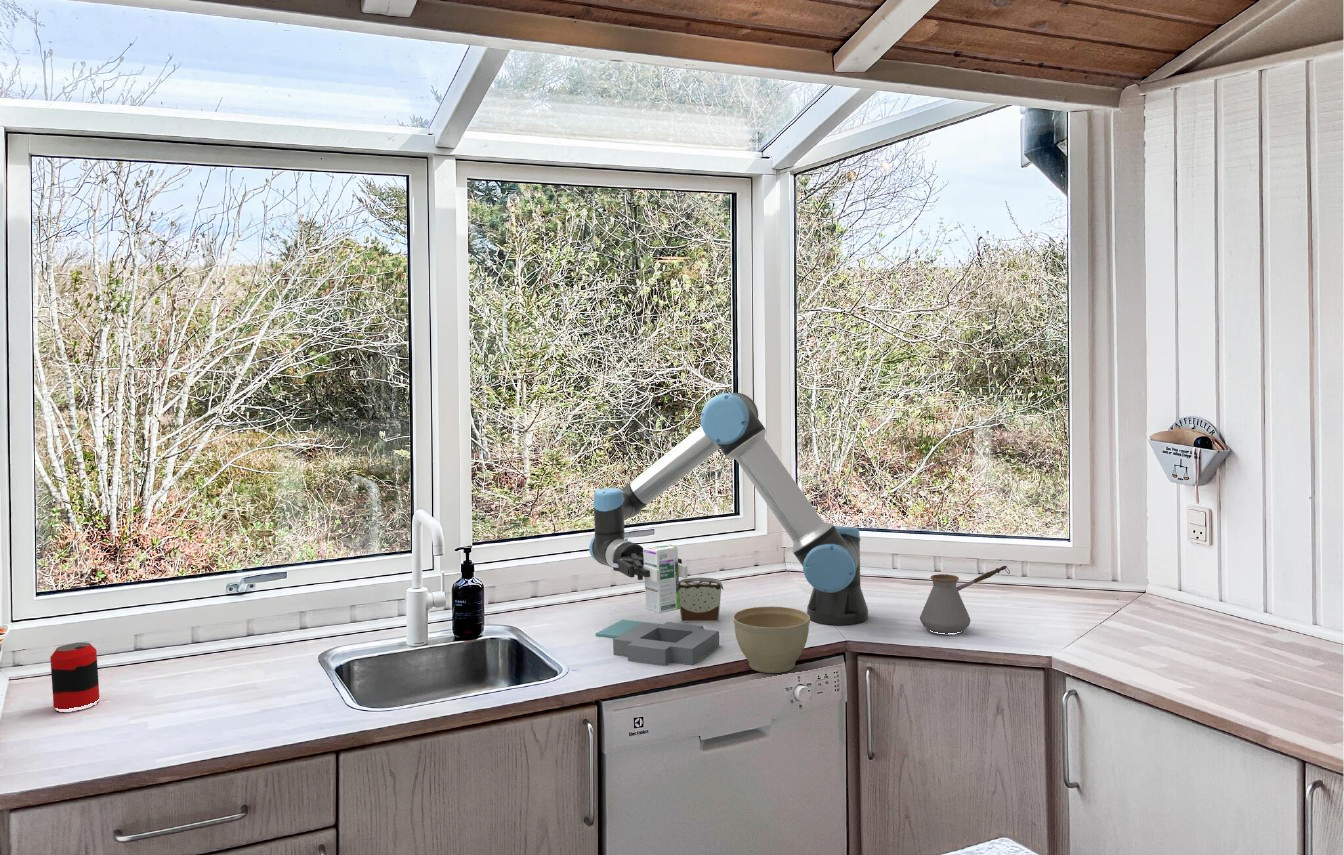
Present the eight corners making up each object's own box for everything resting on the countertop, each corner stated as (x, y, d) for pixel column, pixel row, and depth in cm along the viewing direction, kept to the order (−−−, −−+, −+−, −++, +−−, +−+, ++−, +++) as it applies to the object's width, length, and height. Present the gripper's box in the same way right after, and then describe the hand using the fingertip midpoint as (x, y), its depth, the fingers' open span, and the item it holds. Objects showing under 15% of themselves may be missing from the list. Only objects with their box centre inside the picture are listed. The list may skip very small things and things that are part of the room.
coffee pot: (929, 638, 204) (929, 574, 204) (913, 625, 216) (912, 564, 215) (1020, 634, 206) (1019, 570, 205) (999, 621, 217) (998, 560, 216)
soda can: (71, 715, 171) (67, 654, 171) (44, 710, 174) (40, 650, 173) (108, 701, 178) (104, 642, 178) (82, 697, 181) (78, 639, 180)
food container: (725, 615, 230) (724, 576, 229) (724, 621, 224) (723, 582, 223) (677, 615, 231) (676, 577, 231) (675, 621, 225) (674, 582, 224)
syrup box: (659, 614, 198) (657, 549, 197) (644, 609, 203) (642, 546, 202) (680, 609, 201) (678, 546, 201) (665, 604, 206) (663, 542, 205)
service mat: (668, 627, 220) (668, 624, 220) (643, 641, 209) (643, 639, 209) (622, 621, 226) (622, 619, 226) (595, 635, 214) (595, 633, 214)
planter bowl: (731, 679, 181) (730, 626, 181) (736, 654, 197) (735, 605, 197) (811, 680, 179) (810, 627, 178) (810, 655, 195) (809, 606, 194)
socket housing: (723, 642, 206) (723, 627, 206) (687, 668, 188) (686, 652, 188) (649, 633, 215) (648, 619, 214) (607, 657, 197) (607, 642, 197)
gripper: (661, 567, 222) (709, 585, 202) (591, 577, 213) (633, 597, 193) (661, 537, 222) (709, 552, 201) (590, 546, 213) (632, 562, 192)
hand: (672, 574), depth 197 cm, fingers closed on syrup box, 6 cm apart
